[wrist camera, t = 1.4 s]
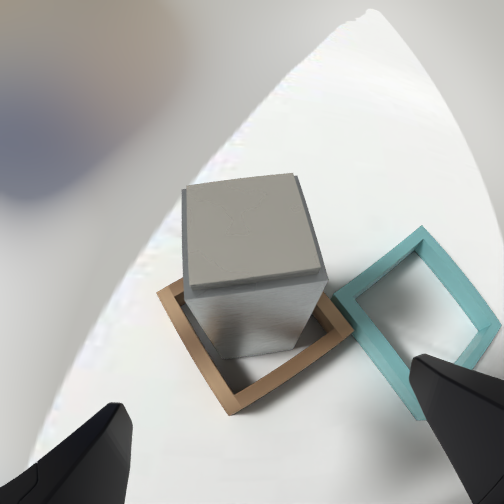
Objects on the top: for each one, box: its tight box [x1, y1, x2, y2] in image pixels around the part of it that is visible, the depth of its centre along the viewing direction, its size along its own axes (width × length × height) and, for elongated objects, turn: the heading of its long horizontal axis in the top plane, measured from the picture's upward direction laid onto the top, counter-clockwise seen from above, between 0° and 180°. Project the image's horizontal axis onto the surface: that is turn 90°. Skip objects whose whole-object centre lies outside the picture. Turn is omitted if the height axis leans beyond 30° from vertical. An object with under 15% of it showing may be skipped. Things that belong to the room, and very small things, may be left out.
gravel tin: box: [182, 173, 328, 359], centre depth 16 cm, size 5×5×12 cm
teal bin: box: [330, 225, 502, 420], centre depth 20 cm, size 12×11×2 cm
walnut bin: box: [156, 278, 354, 416], centre depth 21 cm, size 10×10×2 cm
